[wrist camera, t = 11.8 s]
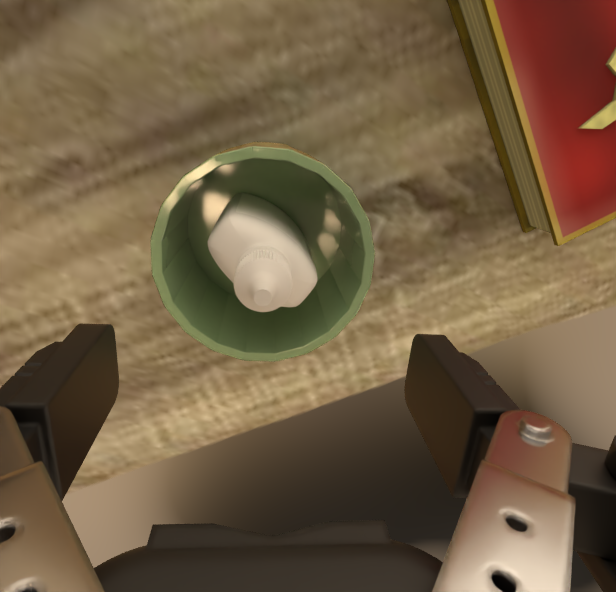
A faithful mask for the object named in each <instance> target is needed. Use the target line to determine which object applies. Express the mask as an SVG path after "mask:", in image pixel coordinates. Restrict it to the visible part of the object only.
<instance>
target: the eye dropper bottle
mask: <svg viewBox="0 0 616 592" xmlns="http://www.w3.org/2000/svg"><path fill="white" fill-rule="evenodd" d="M208 249H209V251H210V253H211V255H212V257H213V259H214V260H215V262H216V263H217V265H218V266H219V268H220V269H221V270H222V271H223V273H224V274H225V275H226V276H227V277H228V278H229V279H230V280H231V281H232V282H233V283H234V289H235V292H236V293H235V294H236V295H237V297H238V299H239V300H240V302H242V304H244V306H246V308H249V309H251V310H254V311H257V312H267V311H269V312H270V311H273V310H276V309H278V307H281V306H282V307H296V306H298V305H299V304H301V303H302V302H303V301H304V299H305V298H306V297H307V296H308V295H309V293H310V292H311V291H312V290H313V288H314V287H315V285H316V283H317V279H318V278H317V272H316V268H315V265H314V261H313V258H312V255H311V252H310V249H309V247H308V244H307V241H306V239H305V237H304V235H303V234H302V232H301V231H300V229H299V228H298V226H297V225H296V224H295V223H294V221H293V220H292V219H291V218H290V217H289V216H288V215H287V214H286V213H284V212H283V211H282V210H281V209H279V208H278V207H277V206H275V205H274V204H272V203H270V202H268V201H266V200H264V199H262V198H259V197H257V196H254V195H251V194H247V193H238V194H236V195H235V196H234V197H233V198H232V199H231V201H230V202H229V203H228V205H227V206H226V207H225V209H224V210H223V212H222V213H221V215H220V217H219V219H218V220H217V222H216V224H215V226H214V228H213V230H212V232H211V234H210V236H209V239H208Z"/></svg>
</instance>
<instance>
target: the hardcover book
mask: <svg viewBox="0 0 616 592" xmlns="http://www.w3.org/2000/svg"><path fill="white" fill-rule="evenodd" d="M447 1H448V4H449V7H450V10H451V13H452V16H453V19H454V22H455V25H456V28H457V32H458V35H459V38H460V41H461V44H462V47H463V50H464V53H465V56H466V59H467V62H468V65H469V68H470V71H471V74H472V77H473V80H474V83H475V86H476V90H477V93H478V96H479V99H480V102H481V105H482V108H483V111H484V114H485V117H486V120H487V123H488V126H489V129H490V132H491V135H492V138H493V141H494V144H495V148H496V151H497V154H498V157H499V160H500V163H501V166H502V169H503V172H504V175H505V178H506V181H507V184H508V187H509V190H510V193H511V196H512V199H513V202H514V205H515V209H516V212H517V215H518V218H519V221H520V224H521V227H522V230H523V232H525V233H527V232H529V231H531V230H533V229H535V228H539V229H541V230H544V231H547V232H550V233H551V235H552V238H553V241H554V245H557V246H560V245H562V244H564V243H566V242H568V241H570V240H572V239H574V238H576V237H578V236H580V235H582V234H584V233H586V232H588V231H590V230H592V229H594V228H596V227H598V226H600V225H602V224H604V223H606V222H608V221H610V220H612V219H614V218H616V0H447Z"/></svg>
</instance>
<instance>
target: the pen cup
mask: <svg viewBox="0 0 616 592" xmlns="http://www.w3.org/2000/svg"><path fill="white" fill-rule="evenodd" d="M238 193H247V194H251V195H254V196H257V197H259V198H262V199H264V200H266V201H268V202H270V203H272V204H274V205H275V206H277V207H278V208H279V209H281V210H282V211H283V212H284V213H286V214H287V215H288V216H289V217H290V218H291V219H292V220H293V221H294V223H295V224H296V225H297V226H298V228H299V229H300V231H301V232H302V234H303V235H304V237H305V239H306V241H307V244H308V247H309V249H310V252H311V255H312V258H313V261H314V265H315V268H316V272H317V278H318V279H317V283H316V285H315V287H314V288H313V290H312V291H311V292H310V293H309V295H308V296H307V297H306V298H305V299H304V301H303V302H302V303H301V304H299V305H298V306H296V307H282V306H281V307H278V309H276V310H273V311H270V312H269V311H267V312H257V311H254V310H251V309H249V308H246V306H244V304H242V302H240V300H239V299H238V297H237V295H236V294H235V293H236V292H235V289H234V283H233V282H232V281H231V280H230V279H229V278H228V277H227V276H226V275H225V274H224V273H223V271H222V270H221V269H220V268H219V266H218V265H217V263H216V262H215V260H214V259H213V257H212V255H211V253H210V251H209V249H208V239H209V236H210V234H211V232H212V230H213V228H214V226H215V224H216V222H217V220H218V219H219V217H220V215H221V213H222V212H223V210H224V209H225V207H226V206H227V205H228V203H229V202H230V201H231V199H232V198H233V197H234V196H235V195H236V194H238ZM374 257H375V250H374V244H373V239H372V233H371V228H370V222H369V220H368V217H367V215H366V213H365V212H364V210H363V208H362V206H361V204H360V203H359V201H358V199H357V197H356V195H355V194H354V192H353V190H352V189H351V188H350V187H349V186H348V185H347V184H346V183H345V182H344V181H343V180H342V179H340V178H339V177H338V176H337V175H336V174H335V173H334V172H333V171H332V170H331V169H329V168H328V167H327V166H326V165H325V164H323V163H322V162H320V161H318V160H317V159H315V158H314V157H312V156H310V155H309V154H306V153H304V152H302V151H299V150H297V149H295V148H293V147H290V146H288V145H286V144H280V143H271V142H252V143H248V144H244V145H240V146H236V147H232V148H229V149H226V150H224V151H222V152H220V153H218V154H216V155H214V156H213V157H211V158H210V159H208V160H207V161H205V162H204V163H202V164H201V165H199V166H197V167H196V168H194V169H193V170H191V171H190V172H188V173H187V174H185V175H184V176H183V177H182V178H181V179H180V181H179V182H178V183H177V185H176V186H175V187H174V189H173V190H172V191H171V193H170V194H169V195H168V197H167V198H166V199H165V201H164V202H163V203H162V205H161V207H160V210H159V213H158V217H157V220H156V223H155V226H154V230H153V233H152V236H151V265H152V276H153V278H154V281H155V283H156V286H157V289H158V291H159V294H160V296H161V299H162V302H163V304H164V306H165V308H166V309H167V310H168V311H169V313H170V314H171V315H172V316H173V317H174V319H175V320H176V321H177V322H178V324H179V325H180V326H181V327H182V329H183V330H184V331H185V332H186V333H187V334H189V335H190V336H192V337H193V338H195V339H196V340H198V341H199V342H201V343H202V344H204V345H205V346H207V347H208V348H210V349H211V350H213V351H216V352H219V353H222V354H225V355H228V356H231V357H234V358H237V359H241V360H245V361H274V362H275V361H280V360H284V359H288V358H292V357H296V356H300V355H304V354H307V353H309V352H311V351H313V350H315V349H316V348H318V347H320V346H321V345H323V344H325V343H327V342H328V341H330V340H332V339H333V338H334V337H336V336H337V335H338V334H339V333H340V332H341V331H342V330H343V328H344V327H345V326H346V325H347V324H348V323H349V322H350V321H351V320H352V319H353V318H354V317H355V316H356V314H357V313H358V310H359V308H360V306H361V304H362V302H363V300H364V298H365V296H366V294H367V292H368V290H369V288H370V285H371V279H372V272H373V265H374Z"/></svg>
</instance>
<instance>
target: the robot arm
mask: <svg viewBox="0 0 616 592" xmlns="http://www.w3.org/2000/svg"><path fill="white" fill-rule="evenodd" d="M118 387H119V374H118V363H117V352H116V341H115V332H114V328H113V326H112V325H110V324H78V325H77V326H76V327H75V328H74V330H73V331H72V332H71V333H70V334H69V335H68V336H67V337H66V338H65V339H64V340H63V342H54V343H52V344H50V345H48V346H47V347H45V348H43V349H41V350H39V351H37V352H36V353H35V354H34V355H33V356H32V357H31V358H30V359H29V360H28V361H27V362H26V363H25V366H22V367H21V368H20V369H19V370H18V371H17V372H16V373H15V376H12V377H11V378H10V379H9V380H8V381H7V382H6V383H5V384H4V385H3V386H2V387H1V388H0V592H570V582H571V567H572V551H573V550H575V551H577V553H578V554H579V556H580V557H581V559H582V560H583V562H584V563H585V565H586V566H587V568H588V570H589V571H590V572H591V574H592V575H593V577H594V579H595V580H596V582H597V583H598V585H599V586H600V588H601V589H602V591H603V592H616V436H615V437H614V439H613V441H612V444H611V447H610V449H609V451H608V450H603V449H598V448H593V447H589V446H584V445H579V444H575V443H572V439H571V436H570V435H569V433H568V432H567V431H566V430H565V429H564V428H563V427H562V426H561V425H559V424H558V423H556V422H554V421H553V420H551V419H549V418H547V417H545V416H543V415H540V414H537V413H534V412H530V411H525V410H520V409H519V408H518V406H517V405H516V404H515V403H514V402H513V401H512V400H511V399H510V398H509V396H508V395H507V394H506V393H505V392H504V391H503V390H502V388H501V387H500V386H499V385H496V382H495V381H494V380H493V378H492V377H491V376H489V375H488V373H487V372H486V370H485V369H484V368H483V367H482V366H481V365H480V364H479V362H477V361H475V360H474V359H472V358H471V357H469V356H467V355H466V354H464V353H459V352H458V350H457V349H456V348H455V347H454V346H453V344H452V343H451V342H450V341H449V340H448V339H447V337H446V336H445V335H431V334H417V335H415V337H414V339H413V342H412V347H411V353H410V358H409V364H408V369H407V375H406V380H405V400H406V404H407V406H408V409H409V411H410V413H411V414H412V417H413V418H414V421H415V422H416V425H417V427H418V429H419V430H420V433H421V435H422V437H423V439H424V441H425V443H426V444H427V447H428V448H429V450H430V453H431V455H432V457H433V459H434V460H435V463H436V465H437V467H438V468H439V471H440V473H441V474H442V477H443V479H444V481H445V483H446V485H447V487H448V489H449V491H450V493H451V495H452V496H453V497H454V498H460V497H461V498H465V497H466V498H467V500H466V503H465V505H464V508H463V510H462V513H461V516H460V519H459V521H458V524H457V527H456V529H455V532H454V534H453V537H452V540H451V543H450V545H449V548H448V550H447V553H446V556H445V558H444V561H443V562H441V561H440V560H438V559H437V558H435V557H433V556H432V555H430V554H428V553H426V552H424V551H422V550H420V549H418V548H415V547H413V546H411V545H408V544H405V543H402V542H398V541H395V540H391V539H390V536H389V533H388V529H387V526H386V523H385V520H372V521H371V520H369V521H329V522H325V523H321V524H318V525H314V526H310V527H306V528H302V529H298V530H294V531H291V532H287V533H282V534H279V535H265V534H260V533H255V532H250V531H245V530H241V529H236V528H231V527H227V526H221V525H217V524H166V525H165V524H163V525H153V526H152V530H151V533H150V537H149V540H148V544H147V545H146V546H143V547H139V548H136V549H133V550H130V551H128V552H125V553H122V554H120V555H118V556H116V557H114V558H111V559H109V560H107V561H106V562H104V563H102V564H100V565H98V566H97V567H95V568H93V566H92V564H91V562H90V560H89V558H88V556H87V554H86V551H85V549H84V547H83V545H82V543H81V541H80V539H79V537H78V535H77V533H76V531H75V529H74V526H73V524H72V522H71V520H70V518H69V516H68V514H67V512H66V510H65V508H64V505H63V503H62V500H63V498H64V496H65V495H66V493H67V491H68V489H69V487H70V485H71V483H72V481H73V480H74V478H75V476H76V474H77V472H78V470H79V468H80V466H81V465H82V463H83V461H84V459H85V457H86V455H87V453H88V451H89V450H90V448H91V446H92V444H93V442H94V440H95V438H96V437H97V435H98V433H99V431H100V429H101V427H102V425H103V423H104V422H105V420H106V418H107V416H108V414H109V412H110V410H111V408H112V407H113V405H114V403H115V400H116V398H117V394H118Z"/></svg>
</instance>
